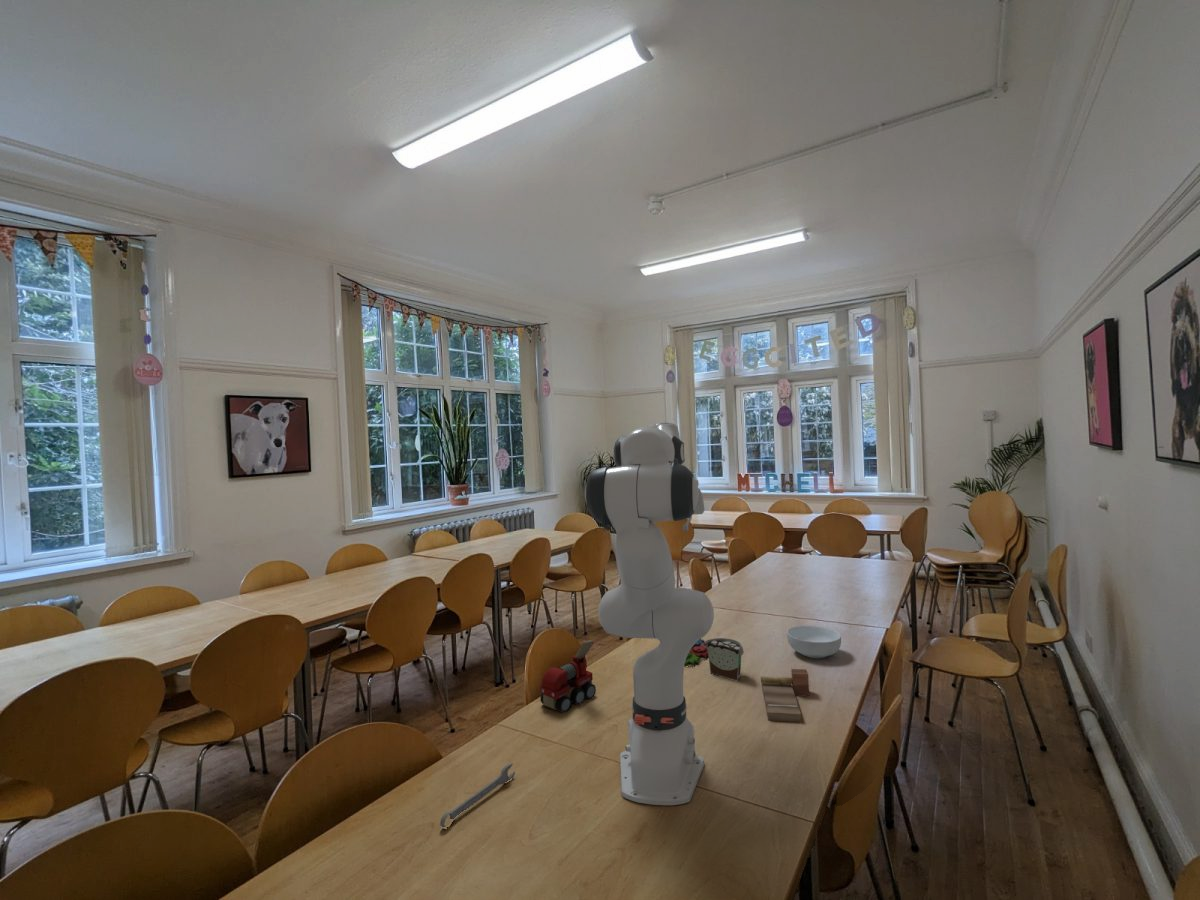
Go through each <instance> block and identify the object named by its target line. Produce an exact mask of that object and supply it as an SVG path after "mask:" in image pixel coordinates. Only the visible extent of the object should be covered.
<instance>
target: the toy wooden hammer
mask: <svg viewBox="0 0 1200 900" xmlns="http://www.w3.org/2000/svg"><path fill="white" fill-rule="evenodd" d="M790 670H791V671H790V672H791V677H782V676H781V677H779V676H778V677H777V676H760V683H761V684H762V683H780V684H791V685H792V688H793V691H794V694H795V696H798V695H807V696H806V697H810V686H809V673H808V671H807V668H791V669H790Z"/></svg>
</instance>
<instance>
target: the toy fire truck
mask: <svg viewBox="0 0 1200 900" xmlns="http://www.w3.org/2000/svg"><path fill="white" fill-rule="evenodd" d="M592 646H594V640H593V639H592V640H587V641H583V642H582V643H581V645H580V646H579V648H578V650H577V652H576V653H575V655H573V656H572V661H570V662H568V663H567V664H564V665H562V666H561V667H559V668H558V667H555V666H552V667H550V668H549V669H547V670H546V671H545V673H544V674H543V676H542V679H541V684H540V693H541V694H540V697H539V698H540V702H541V704H543V705H544V706H545V707H547V708H550V709H552V710H556V711H559V712H561V713H568V711H569V710H570V708H571V706H572V703H573V704H575V705H578V706H579V705H581V704H583V703H584V701H585V699H587V700H591V699H593V698H594V697H595V695H596V692H597V689H596V685H595V684H593V673H592V672H591V671H589V670H587V666H586V657H585V656H587V654H588V652H589V651H590V650H591V648H592ZM592 697H593V698H592Z"/></svg>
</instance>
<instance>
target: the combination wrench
mask: <svg viewBox="0 0 1200 900" xmlns="http://www.w3.org/2000/svg"><path fill="white" fill-rule="evenodd" d="M513 765H514V763H508V764H506V765H504V767H503V768H502V770H501V771H500V774H499V775H498V777H497V778H495V779H494V780H493V781H491V782H490V783H488V784H487V785H486V786H484V787H483V788H481V789H480V790H479V791H477V792H475V794H473V795H472V796H470V797H469V798H467V799H466V800H465V801H463V802H462V803H461V804H459V805H457V806H456V807H455V808H453V809H452V810H450V811H446V812H444V814H443V815H442V817H441V818H440V822H439V823H440V824H439V825H440V827H441V826H442V827H446V826H445V822H446V819H447V818H448V816H449V820H450V819H454V818H455V817H456V816H457V815H459V814H460V813H461V812H463V811H464V810H466V809H467V808H468V809H470V808H471V807H472V806H473V805H475V804H476V803H477V802H479V801H480V800H482V799H483V798H484V797H486V796H487V795H488V794H489V793H490V792H492V791H493V790H495V789H496V788H497V787H498V786H500V785H503V783H505V782H507V781H508V780H510V779H511V778H513V779H514V776H515V774H516V772H515V771H512V772H511V773H510V774H508V773H509V770H510V769H511V768H512V766H513ZM474 803H475V804H474ZM471 805H472V806H471ZM470 806H471V807H470ZM469 807H470V808H469ZM468 809H467V810H468ZM467 810H466V811H467ZM464 812H465V811H464ZM464 812H463V813H464ZM460 815H461V814H460ZM460 815H459V816H460Z"/></svg>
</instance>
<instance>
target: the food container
mask: <svg viewBox="0 0 1200 900" xmlns="http://www.w3.org/2000/svg"><path fill="white" fill-rule="evenodd" d="M706 641H707V642H706V645H705V647H707V650H708V656H707V659H708V664H709V672H710V674H711V673H712V674H711V675H714V674H716V675H715V676H717V675H719V676H718V677H721V676H722V677H721V678H724V677H726V678H725V679H728V678H729V679H728V680H731V679H733V680H732V681H735V680H737V681H736V682H739V681H740V680H741V668H742V665H741V664H742V656H743V655H744V654H745V653H744V648H743V645H742V643H741V642H740V641H738V640H735V639H732V638H726V637H725V638H724V637H723V638H722V637H718V638H711V639H710V638H709V639H706ZM739 679H740V680H739ZM738 680H739V681H738Z"/></svg>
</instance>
